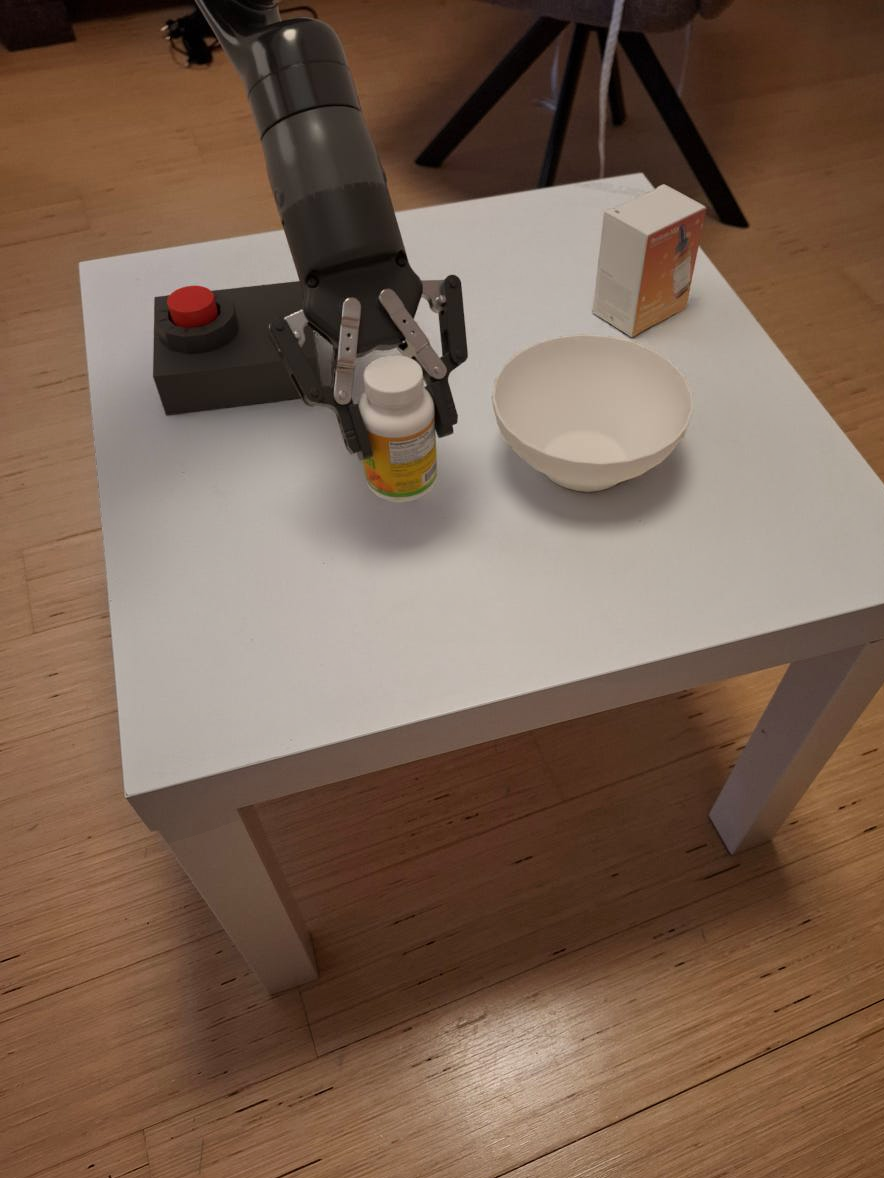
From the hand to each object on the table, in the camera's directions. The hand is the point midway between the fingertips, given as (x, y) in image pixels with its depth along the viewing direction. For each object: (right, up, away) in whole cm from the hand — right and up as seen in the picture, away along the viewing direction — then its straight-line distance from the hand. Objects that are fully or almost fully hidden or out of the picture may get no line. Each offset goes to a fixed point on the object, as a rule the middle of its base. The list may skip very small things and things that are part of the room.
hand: (406, 446), depth 66 cm
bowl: (+14, +1, +14) cm, 20 cm away
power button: (-20, +15, +17) cm, 30 cm away
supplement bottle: (-1, -2, +5) cm, 5 cm away
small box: (+21, +19, +27) cm, 39 cm away
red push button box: (-17, +12, +22) cm, 30 cm away
